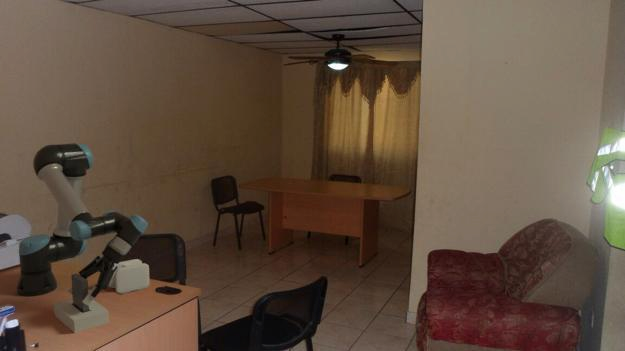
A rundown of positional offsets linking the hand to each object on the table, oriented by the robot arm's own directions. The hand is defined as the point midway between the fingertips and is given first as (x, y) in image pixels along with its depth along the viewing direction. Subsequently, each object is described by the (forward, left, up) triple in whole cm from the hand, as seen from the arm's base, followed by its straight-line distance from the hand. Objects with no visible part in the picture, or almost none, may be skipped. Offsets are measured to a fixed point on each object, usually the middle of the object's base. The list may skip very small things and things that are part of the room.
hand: (77, 298), depth 172 cm
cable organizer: (-32, +15, -10) cm, 37 cm away
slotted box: (-1, +1, -10) cm, 10 cm away
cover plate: (-1, +1, -8) cm, 8 cm away
